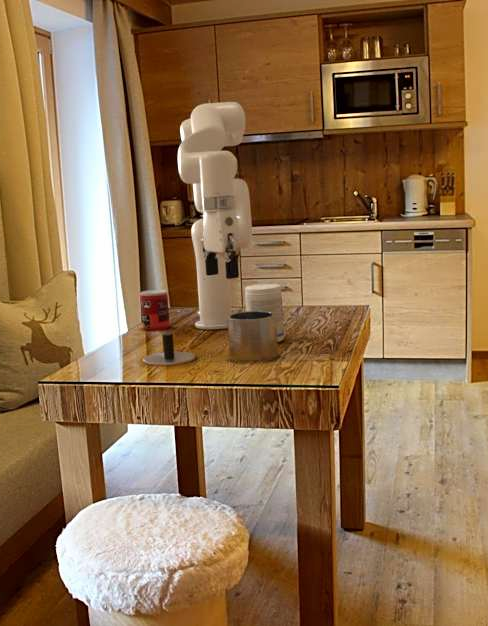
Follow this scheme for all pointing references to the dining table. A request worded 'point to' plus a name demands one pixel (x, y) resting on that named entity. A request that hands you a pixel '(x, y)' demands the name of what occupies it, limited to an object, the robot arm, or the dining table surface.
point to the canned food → (155, 309)
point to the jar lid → (168, 354)
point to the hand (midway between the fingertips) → (222, 276)
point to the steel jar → (252, 336)
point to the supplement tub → (266, 303)
